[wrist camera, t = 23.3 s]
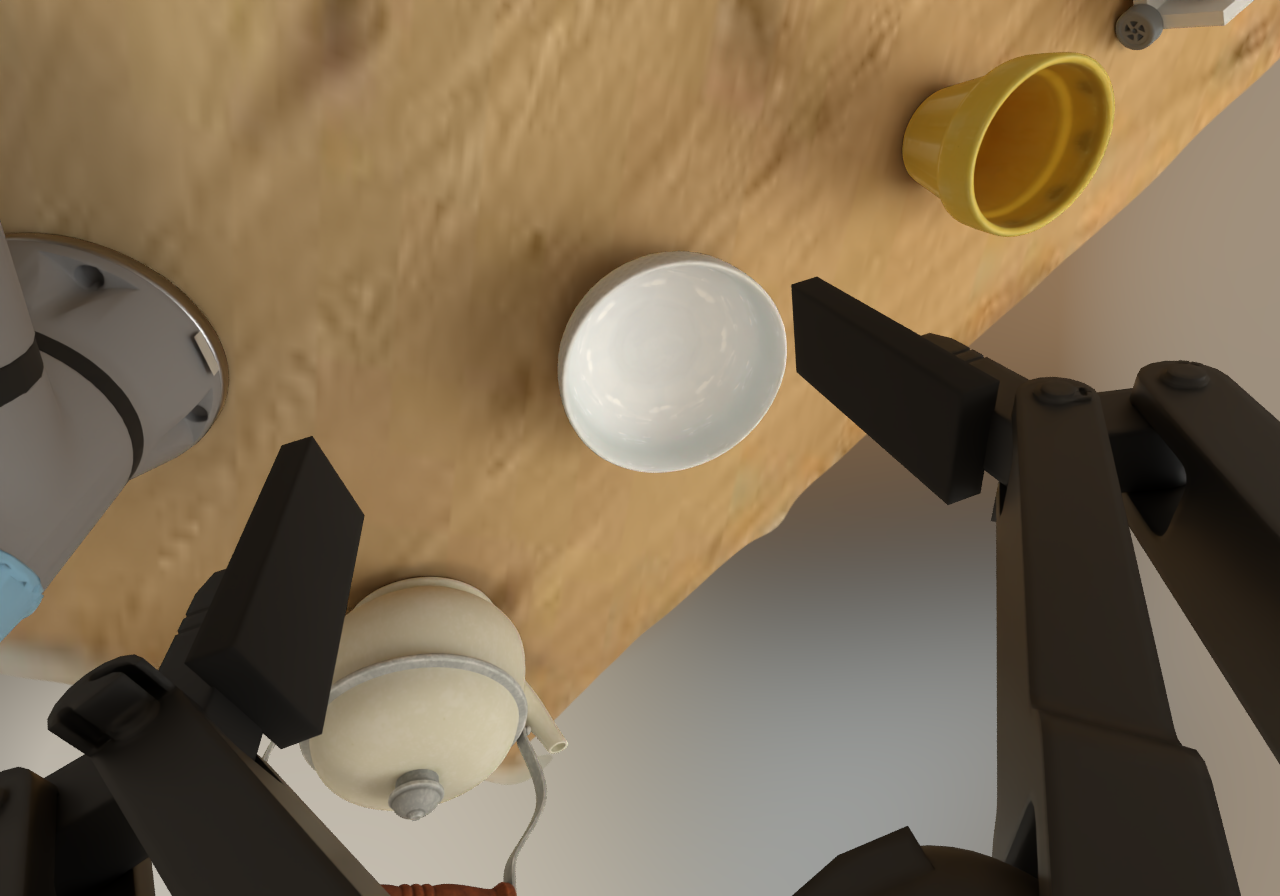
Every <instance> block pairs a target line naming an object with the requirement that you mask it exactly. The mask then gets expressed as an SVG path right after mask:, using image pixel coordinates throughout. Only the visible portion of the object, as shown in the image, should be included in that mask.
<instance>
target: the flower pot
mask: <svg viewBox="0 0 1280 896" xmlns="http://www.w3.org/2000/svg"><path fill="white" fill-rule="evenodd" d="M1114 111H1115V101H1114V93H1113V88H1112V84H1111V81H1110V79H1109V77H1108V75H1107V73H1106V71H1105V70H1104V69H1103V67H1102V66H1101V65H1100V64H1099V63H1098V62H1097V61H1096V60H1094V59H1093V58H1091V57H1089V56H1087V55H1084V54H1080V53H1072V52H1058V53H1042V54H1032V55H1025V56H1021V57H1017V58H1014V59H1011V60H1009V61H1007V62H1005V63H1003V64H1001V65H999V66H998V67H996V68H995V69H993V70H992V71H990V72H989V73H988V74H986V75H985V76H983V77H979V78H976V79H973V80H970V81H966V82H963V83H960V84H956V85H953V86H949V87H946V88H943V89H941V90H939V91H937V92H935V93H933V94H932V95H931V96H929V97H928V98H927V99H926V100H925V101H924V102H923V103H922V104H921V105H920V106H919V107H918V108H917V110H916V111H915V113H914V114H913V116H912V118H911V119H910V121H909V123H908V125H907V128H906V131H905V134H904V139H903V146H902V155H903V162H904V165H905V168H906V170H907V172H908V173H909V175H910V176H911V177H912V178H913V179H914V180H915V181H916V182H918V183H919V184H920V185H922V186H923V187H925V188H926V189H928V190H929V191H930V192H932V193H933V194H934V195H936V196H937V197H938V198H940V199H941V201H942V203H943V205H944V207H945V209H946V210H947V212H948V213H949V214H950V215H951V216H952V217H953V218H954V219H956V220H957V221H959V222H960V223H962V224H965V225H967V226H970V227H972V228H975V229H977V230H980V231H984V232H987V233H990V234H993V235H997V236H1003V237H1014V236H1020V235H1024V234H1028V233H1030V232H1033V231H1035V230H1037V229H1039V228H1041V227H1043V226H1045V225H1047V224H1048V223H1050V222H1051V221H1053V220H1054V219H1055V218H1057V217H1058V216H1059V215H1060V214H1062V213H1063V212H1064V211H1065V210H1066V209H1067V208H1068V207H1069V206H1070V205H1071V204H1072V203H1073V202H1074V201H1075V200H1076V199H1077V198H1078V197H1079V195H1080V194H1081V193H1082V192H1083V190H1084V189H1085V188H1086V186H1087V185H1088V183H1089V182H1090V180H1091V179H1092V177H1093V176H1094V174H1095V172H1096V171H1097V169H1098V167H1099V165H1100V163H1101V161H1102V158H1103V156H1104V154H1105V151H1106V148H1107V146H1108V143H1109V139H1110V136H1111V132H1112V127H1113V121H1114Z"/></svg>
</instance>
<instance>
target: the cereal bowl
mask: <svg viewBox="0 0 1280 896" xmlns="http://www.w3.org/2000/svg"><path fill="white" fill-rule="evenodd" d="M786 357H787V342H786V334H785V328H784V325H783V322H782V319H781V316H780V314H779V311H778V309H777V307H776V305H775V304H774V302H773V301H772V299H771V298H770V296H769V295H768V294H767V292H766V291H765V290H764V289H763V288H762V287H761V286H760V285H759V284H758V283H757V282H756V281H754V280H753V279H752V278H751V277H749V276H748V275H747V274H746V273H744V272H742V271H740V270H739V269H738V268H736V267H734V266H732V265H731V264H729V263H727V262H724V261H722V260H720V259H718V258H714V257H712V256H709V255H703V254H701V253H694V252H689V251H687V252H685V251H672V252H660V253H652V254H650V255H646V256H644V257H639V258H637V259H635V260H632V261H630V262H628V263H625V264H623V265H622V266H620V267H618V268H617V269H614V270H612V271H611V272H610V273H609V274H607V275H606V276H605V277H603V278H601V279H600V280H599V282H598V283H596V284H595V285H594V286H593V287H592V288H590V290H589V291H588V293H587V294H585V295H584V297H583V299H581V301H580V303H579V304H578V305H577V306H576V308H575V310H574V312H573V313H572V316H571V317H570V319H569V321H568V323H567V325H566V328H565V331H564V333H563V337H562V339H561V342H560V350H559V354H558V365H557V366H558V382H559V389H560V396H561V399H562V404H563V406H564V410H565V413H566V415H567V417H568V419H569V422H570V424H571V425H572V427H573V428H574V430H575V431H576V433H577V435H578V436H579V437H580V439H581V440H582V441H583V442H584V443H585V444H586V445H587V446H588V447H589V448H590V449H591V450H592V451H593V452H594V453H596V454H597V455H598V456H600V457H601V458H603V459H605V460H606V461H608V462H610V463H613V464H615V465H617V466H620V467H623V468H626V469H630V470H634V471H640V472H650V473H663V472H672V471H679V470H684V469H688V468H691V467H695V466H698V465H701V464H703V463H706V462H708V461H710V460H712V459H715V458H716V457H718V456H720V455H722V454H724V453H725V452H727V451H728V450H730V449H731V448H733V447H734V446H735V445H737V444H738V443H739V442H740V441H741V440H743V439H744V438H745V437H746V436H747V435H748V434H749V433H750V432H751V431H752V430H753V429H754V428H755V427H756V426H757V424H758V423H759V422H760V421H761V419H762V418H763V417H764V415H765V414H766V412H767V411H768V409H769V407H770V406H771V404H772V402H773V401H774V398H775V396H776V394H777V392H778V390H779V387H780V385H781V382H782V378H783V375H784V371H785V366H786Z"/></svg>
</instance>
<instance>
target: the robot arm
mask: <svg viewBox="0 0 1280 896" xmlns="http://www.w3.org/2000/svg"><path fill="white" fill-rule="evenodd" d="M791 287H792V304H793V321H794V338H795V354H796V371H797V373H798V374H799V375H801V376H802V377H803V378H804V379H805V380H806V381H807V382H809V383H810V384H811V385H812V386H813V387H814V388H815V389H817V390H818V391H819V392H820V393H821V394H822V395H823V396H825V397H826V398H827V399H828V400H829V401H830V402H831V403H832V404H834V405H835V406H836V407H837V408H838V409H839V410H840V411H842V412H843V413H844V414H845V415H846V416H847V417H848V418H850V419H851V420H852V421H853V422H854V423H855V424H856V425H857V426H859V427H860V428H861V429H862V430H863V431H864V432H865V433H867V434H868V435H869V436H870V437H871V438H872V439H873V440H875V441H876V442H877V443H878V444H879V445H880V446H881V447H882V448H884V449H885V450H886V451H887V452H888V453H889V454H890V455H892V456H893V457H894V458H895V459H896V460H897V461H898V462H900V463H901V464H902V465H903V466H904V467H905V468H907V469H908V470H909V471H910V472H911V473H912V474H913V475H914V476H915V477H917V478H918V479H919V480H920V481H921V482H922V483H923V484H925V485H926V486H927V487H928V488H929V489H930V490H931V491H932V492H934V493H935V494H936V495H937V496H938V497H939V498H940V499H942V500H943V501H944V502H945V503H946V504H947V505H949V504H952V503H955V502H958V501H960V500H963V499H966V498H968V497H971V496H974V495H977V494H980V492H981V487H982V480H983V475H984V470H985V471H986V472H988V473H989V474H990V475H992V476H993V477H994V478H996V479H997V480H998V481H999V482H998V488H997V493H996V498H995V503H994V508H993V513H992V518H991V521H995V522H996V539H997V540H996V549H997V550H996V553H997V555H996V566H997V569H996V570H997V571H996V574H997V575H996V576H997V577H996V578H997V814H996V822H995V830H994V838H993V852H992V857H990V856H987V855H983V854H981V853H977V852H974V851H970V850H965V849H960V848H955V847H946V846H931V845H926V846H920V845H919V843H918V842H917V840H916V839H915V837H914V835H913V833H912V832H911V830H910V828H909V827H908V826H906V827H904V828H901V829H899V830H897V831H894V832H892V833H890V834H888V835H885V836H883V837H880V838H878V839H876V840H873V841H871V842H868V843H866V844H864V845H861V846H859V847H857V848H855V849H852V850H850V851H847V852H845V853H842V854H840V855H838V856H837V857H835V859H833V860H832V861H831V862H830V863H829V864H828V865H827V866H825V867H824V868H823V869H822V870H821V871H820V872H819V873H817V874H816V875H815V876H814V877H813V878H812V879H811V880H810V881H808V882H807V883H806V884H805V885H804V886H803V887H801V888H800V889H799V890H798V891H797V892H796V893H795V894H794V895H792V896H1241V894H1240V890H1239V886H1238V882H1237V878H1236V874H1235V870H1234V866H1233V862H1232V859H1231V855H1230V851H1229V847H1228V843H1227V839H1226V835H1225V831H1224V827H1223V823H1222V819H1221V816H1220V811H1219V808H1218V804H1217V800H1216V796H1215V792H1214V788H1213V784H1212V780H1211V778H1210V775H1209V772H1208V769H1207V766H1206V764H1205V761H1204V760H1203V759H1202V757H1201V756H1200V755H1199V753H1198V752H1197V750H1195V749H1191V748H1188V747H1185V746H1182V744H1181V743H1180V742H1179V740H1178V738H1177V735H1176V732H1175V729H1174V725H1173V721H1172V716H1171V712H1170V708H1169V703H1168V699H1167V694H1166V689H1165V685H1164V681H1163V676H1162V672H1161V667H1160V663H1159V658H1158V654H1157V649H1156V645H1155V641H1154V636H1153V632H1152V627H1151V623H1150V618H1149V614H1148V610H1147V605H1146V601H1145V596H1144V592H1143V587H1142V583H1141V578H1140V574H1139V570H1138V565H1137V560H1136V556H1135V552H1134V547H1133V543H1132V538H1131V534H1130V530H1129V527H1130V529H1131V530H1132V532H1133V533H1134V535H1135V536H1136V538H1137V540H1138V541H1139V543H1140V545H1141V546H1142V548H1143V549H1144V551H1145V552H1146V554H1147V556H1148V557H1149V559H1150V560H1151V561H1152V563H1153V565H1154V566H1155V568H1156V570H1157V571H1158V573H1159V574H1160V576H1161V578H1162V579H1163V581H1164V582H1165V584H1166V585H1167V587H1168V589H1169V590H1170V592H1171V593H1172V595H1173V597H1174V598H1175V600H1176V601H1177V603H1178V604H1179V606H1180V607H1181V609H1182V611H1183V612H1184V614H1185V616H1186V617H1187V619H1188V620H1189V622H1190V623H1191V625H1192V626H1193V628H1194V630H1195V631H1196V633H1197V634H1198V636H1199V638H1200V639H1201V641H1202V642H1203V644H1204V645H1205V647H1206V649H1207V650H1208V652H1209V653H1210V655H1211V657H1212V658H1213V660H1214V661H1215V663H1216V664H1217V666H1218V667H1219V669H1220V671H1221V672H1222V674H1223V675H1224V677H1225V679H1226V680H1227V682H1228V683H1229V685H1230V686H1231V688H1232V690H1233V691H1234V693H1235V694H1236V696H1237V698H1238V699H1239V701H1240V702H1241V704H1242V705H1243V707H1244V708H1245V710H1246V712H1247V713H1248V715H1249V716H1250V718H1251V720H1252V721H1253V723H1254V724H1255V726H1256V728H1257V729H1258V731H1259V732H1260V734H1261V735H1262V737H1263V739H1264V740H1265V742H1266V743H1267V745H1268V746H1269V748H1270V750H1271V751H1272V753H1273V754H1274V756H1275V757H1276V759H1277V761H1278V762H1279V764H1280V422H1279V421H1278V420H1277V419H1276V418H1275V417H1274V416H1273V415H1272V414H1271V413H1269V412H1268V411H1267V410H1266V409H1265V408H1264V407H1263V406H1261V405H1260V404H1259V403H1258V402H1257V401H1256V400H1255V399H1254V398H1252V397H1251V396H1250V395H1249V394H1248V393H1247V392H1246V391H1245V390H1243V389H1242V388H1241V387H1240V386H1239V385H1238V384H1237V383H1236V382H1234V381H1233V380H1232V379H1231V378H1230V377H1229V376H1228V375H1226V374H1224V373H1223V372H1221V371H1219V370H1218V369H1215V368H1212V367H1209V366H1206V365H1203V364H1201V363H1197V362H1189V361H1182V360H1179V361H1162V362H1157V363H1151V364H1149V365H1147V366H1145V367H1143V368H1141V369H1140V371H1139V373H1138V374H1137V377H1136V380H1135V384H1134V387H1133V388H1130V389H1122V390H1114V391H1106V392H1096V391H1095V389H1093V388H1091V387H1090V386H1088V385H1086V384H1085V383H1082V382H1079V381H1075V380H1072V379H1067V378H1059V377H1045V378H1037V379H1032V380H1028V379H1026V378H1025V377H1023V376H1021V375H1019V374H1017V373H1015V372H1014V371H1011V370H1010V369H1008V368H1006V367H1004V366H1002V365H1001V364H999V363H997V362H995V361H993V360H991V359H989V358H988V357H985V358H984V357H983V355H982V354H980V353H978V352H976V351H975V350H970V348H969V347H967V346H965V345H963V344H962V343H960V342H958V341H956V340H954V339H952V338H948V337H944V336H940V335H936V334H932V333H928V334H925V335H922V336H920V335H918V334H917V333H915V332H913V331H911V330H910V329H908V328H906V327H904V326H903V325H901V324H899V323H897V322H896V321H894V320H892V319H890V318H889V317H887V316H885V315H883V314H882V313H880V312H878V311H876V310H875V309H873V308H871V307H869V306H868V305H866V304H864V303H862V302H861V301H859V300H857V299H855V298H854V297H852V296H850V295H848V294H847V293H845V292H843V291H841V290H840V289H838V288H836V287H834V286H832V285H831V284H829V283H827V282H825V281H824V280H822V279H820V278H818V277H814V278H811V279H808V280H805V281H801V282H798V283H795V284H792V285H791ZM228 386H229V372H228V365H227V360H226V356H225V353H224V350H223V348H222V345H221V342H220V340H219V338H218V336H217V334H216V332H215V331H214V329H213V328H212V326H211V324H210V323H209V321H208V320H207V319H206V317H205V316H204V315H203V313H202V312H201V311H200V310H199V309H198V307H197V306H196V305H195V304H194V303H193V302H192V301H191V300H190V299H189V298H188V297H187V296H186V295H185V294H184V293H183V292H182V291H181V290H179V289H178V288H177V287H176V286H174V285H173V284H172V283H171V282H170V281H168V280H167V279H165V278H164V277H163V276H161V275H160V274H158V273H157V272H155V271H154V270H152V269H150V268H149V267H147V266H145V265H144V264H142V263H140V262H138V261H136V260H134V259H132V258H130V257H128V256H126V255H124V254H122V253H119V252H117V251H115V250H112V249H109V248H107V247H104V246H101V245H98V244H95V243H91V242H88V241H84V240H81V239H76V238H71V237H67V236H60V235H53V234H42V233H14V234H4V231H3V228H2V224H1V221H0V642H1V641H2V640H3V639H4V638H5V637H6V636H7V635H8V633H9V632H10V631H11V630H12V629H13V628H14V627H15V626H16V625H17V624H18V623H19V622H20V621H21V620H22V619H24V618H26V617H28V616H29V615H30V614H32V613H33V612H34V611H35V610H36V608H37V607H38V606H39V604H40V602H41V599H42V598H43V597H44V595H42V593H43V592H44V591H45V589H46V588H47V587H48V585H49V584H50V583H51V581H52V580H53V579H54V577H55V576H56V575H57V574H58V572H59V571H60V570H61V568H62V567H63V566H64V564H65V563H66V562H67V561H68V559H69V558H70V557H71V555H72V554H73V553H74V552H75V550H76V549H77V548H78V546H79V545H80V544H81V542H82V541H83V540H84V539H85V537H86V536H87V535H88V533H89V532H90V531H91V529H92V528H93V527H94V526H95V524H96V523H97V522H98V520H99V519H100V518H101V517H102V515H103V514H104V513H105V511H106V510H107V509H108V507H109V506H110V505H111V504H112V502H113V501H114V500H115V498H116V497H117V496H118V494H119V493H120V492H121V491H122V489H123V488H124V486H125V485H126V484H127V482H128V481H129V480H131V479H133V478H135V477H137V476H139V475H141V474H143V473H145V472H147V471H149V470H151V469H154V468H156V467H158V466H160V465H162V464H164V463H166V462H168V461H170V460H172V459H174V458H176V457H178V456H179V455H181V454H182V453H184V452H185V451H187V450H188V449H189V448H191V447H192V446H193V445H195V444H196V443H197V442H198V441H199V440H200V439H201V438H202V437H203V436H204V435H205V434H206V433H207V432H208V430H209V429H210V428H211V426H212V425H213V423H214V422H215V420H216V419H217V417H218V415H219V414H220V412H221V410H222V408H223V406H224V403H225V400H226V397H227V393H228ZM363 520H364V514H363V512H362V511H361V509H360V508H359V506H358V505H357V503H356V502H355V500H354V499H353V497H352V495H351V494H350V492H349V491H348V489H347V488H346V486H345V485H344V483H343V482H342V480H341V479H340V477H339V476H338V474H337V473H336V471H335V470H334V468H333V467H332V465H331V464H330V462H329V460H328V459H327V457H326V456H325V454H324V453H323V451H322V450H321V448H320V447H319V445H318V444H317V442H316V441H315V439H314V438H313V436H310V437H307V438H304V439H301V440H298V441H294V442H291V443H288V444H285V445H282V446H281V448H280V451H279V453H278V455H277V457H276V459H275V462H274V464H273V466H272V468H271V471H270V473H269V475H268V477H267V479H266V482H265V484H264V486H263V488H262V491H261V493H260V495H259V497H258V500H257V502H256V504H255V506H254V508H253V511H252V513H251V515H250V517H249V520H248V522H247V524H246V526H245V529H244V531H243V533H242V535H241V537H240V540H239V542H238V544H237V546H236V549H235V551H234V553H233V555H232V558H231V560H230V562H229V564H228V566H227V569H224V570H221V571H218V572H215V573H214V574H213V575H212V576H211V577H210V578H209V579H208V580H207V582H206V583H205V584H204V585H203V586H202V587H201V588H200V589H199V591H198V592H197V593H196V594H195V596H194V598H193V600H192V602H191V604H190V606H189V608H188V611H187V613H186V616H187V617H186V618H184V619H183V621H182V623H181V625H180V627H179V629H178V633H179V634H178V635H175V637H174V639H173V641H172V643H171V646H170V648H169V650H168V652H167V654H166V656H165V658H164V660H163V662H162V664H161V666H160V668H159V670H157V669H155V668H154V667H153V666H152V665H151V664H149V663H148V662H147V661H146V660H145V659H144V658H142V657H139V656H137V655H127V656H120V657H118V658H116V659H113V660H111V661H108V662H106V663H103V664H102V665H100V666H99V667H97V668H95V669H94V670H92V671H91V672H89V673H87V674H86V675H84V676H83V677H82V678H81V679H80V680H79V681H77V682H76V683H75V684H74V685H73V686H71V687H70V688H69V689H68V690H67V691H66V693H65V694H64V695H63V696H62V697H61V698H60V699H59V701H58V702H57V703H56V704H55V706H54V707H53V709H52V711H51V713H50V715H49V717H48V730H49V731H50V732H52V733H54V734H55V735H57V736H58V737H60V738H61V739H63V740H64V741H66V742H68V743H69V744H70V745H72V746H73V747H75V748H77V749H78V750H80V751H81V752H83V753H84V755H83V756H81V757H79V758H78V759H76V760H74V761H73V762H71V763H69V764H67V765H66V766H64V767H63V768H61V769H59V770H57V771H56V772H54V773H52V774H50V775H49V776H47V777H45V778H42V777H41V776H39V775H37V774H36V773H34V772H32V771H30V770H29V769H25V768H21V767H16V768H12V769H8V770H4V771H2V772H0V896H155V889H154V880H153V871H152V863H153V865H154V866H155V868H156V869H157V871H158V873H159V875H160V876H161V878H162V880H163V881H164V883H165V885H166V886H167V888H168V890H169V891H170V893H171V895H172V896H390V895H389V894H388V892H387V891H386V890H385V889H384V888H383V887H382V886H381V885H380V884H379V883H378V882H377V881H376V880H375V878H374V877H373V876H372V875H371V874H370V873H369V872H368V871H367V870H366V869H365V868H364V867H363V866H362V864H361V863H360V862H359V861H358V860H357V859H356V858H355V857H354V856H353V855H352V854H351V853H350V851H349V850H348V849H347V848H346V847H345V846H344V845H343V844H342V843H341V842H340V841H339V840H338V839H337V837H336V836H335V835H334V834H333V833H332V832H331V831H330V830H329V829H328V828H327V827H326V826H325V825H324V823H323V822H322V821H321V820H320V819H319V818H318V817H317V816H316V815H315V814H314V813H313V812H312V811H311V809H309V807H308V806H307V805H306V804H305V803H304V802H303V801H302V800H301V799H300V798H299V796H297V794H296V793H295V792H294V791H293V790H292V789H291V788H290V787H289V786H288V785H287V784H286V783H285V781H284V780H283V779H282V778H281V777H280V776H279V775H278V774H277V773H276V772H275V771H274V770H273V769H272V767H271V766H270V765H269V764H268V763H267V762H266V761H265V760H263V759H262V758H261V757H260V756H259V755H257V752H258V748H259V745H260V741H261V738H262V734H264V735H266V736H267V737H268V738H269V739H270V740H271V741H272V742H273V743H275V744H276V745H277V746H278V747H279V748H280V749H283V748H286V747H288V746H291V745H294V744H297V743H299V742H302V741H305V740H308V739H310V738H313V737H316V736H319V735H321V734H322V732H323V727H324V722H325V717H326V711H327V706H328V701H329V696H330V691H331V686H332V680H333V675H334V670H335V665H336V660H337V655H338V649H339V644H340V639H341V634H342V629H343V624H344V618H345V613H346V608H347V603H348V598H349V593H350V587H351V582H352V577H353V572H354V567H355V562H356V556H357V551H358V546H359V541H360V536H361V531H362V525H363Z"/></svg>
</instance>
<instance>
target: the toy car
mask: <svg viewBox="0 0 1280 896" xmlns="http://www.w3.org/2000/svg"><path fill="white" fill-rule="evenodd" d="M1253 1H1254V0H1133V3H1134V6H1132V7H1130V8H1129V9H1128V10H1127V11H1126V12H1125V13H1123V14H1122V15H1121V16H1120V17H1119V19H1118V21H1117V23H1116V28H1115V30H1116V35H1117V38H1118V39H1119V41H1120V42H1121V43H1122V44H1123V45H1124V46H1125V47H1127V48H1129V49H1132V50H1141V49H1144V48H1146V47H1148V46H1149V45H1151V44H1152V43H1153V42H1154V41H1155V40H1156V39H1157V38H1158V37H1159V36H1160V35H1161V33H1162V30H1163V29H1169V28H1187V27H1205V26H1223V25H1226V24H1227V23H1228V22H1229V21H1230V20H1231V19H1233V18H1234V17H1235V16H1236V15H1237V14H1238V13H1240V12H1241V11H1242V10H1243V9H1244V8H1246V7H1247V6H1248V5H1249V4H1250V3H1251V2H1253Z"/></svg>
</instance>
